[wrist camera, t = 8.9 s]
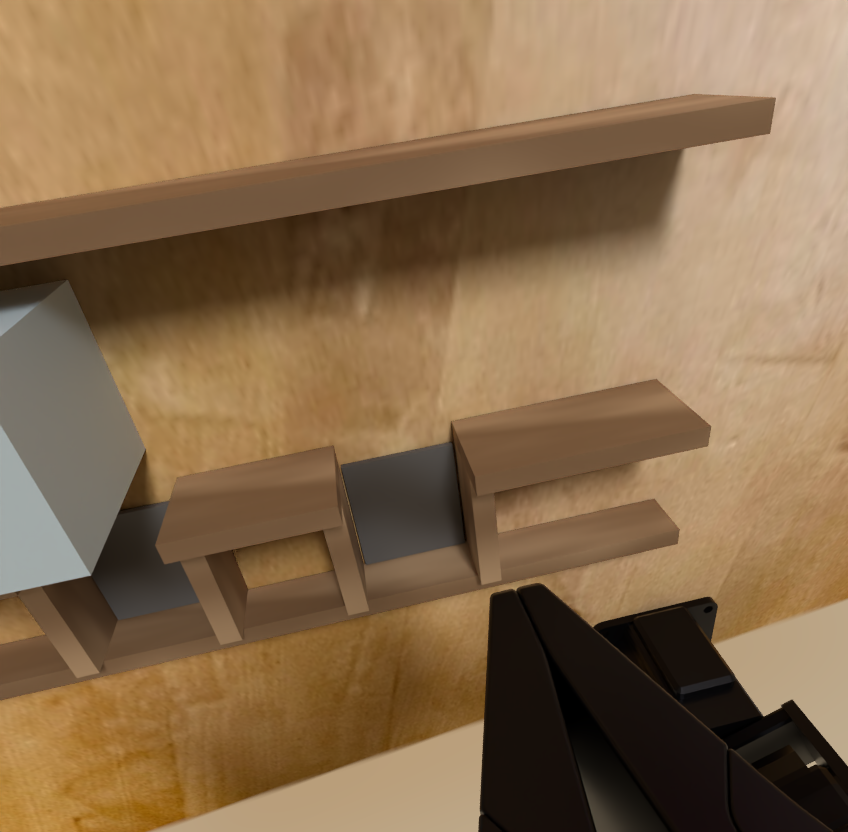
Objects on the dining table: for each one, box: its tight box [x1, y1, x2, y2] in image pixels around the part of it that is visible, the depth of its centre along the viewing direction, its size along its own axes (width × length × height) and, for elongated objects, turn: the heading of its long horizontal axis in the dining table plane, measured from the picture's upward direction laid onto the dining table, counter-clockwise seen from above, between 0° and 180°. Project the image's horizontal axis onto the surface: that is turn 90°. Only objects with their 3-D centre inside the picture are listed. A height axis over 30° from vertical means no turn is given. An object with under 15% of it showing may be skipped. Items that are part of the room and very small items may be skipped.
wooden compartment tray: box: [0, 94, 776, 700], centre depth 19 cm, size 16×33×4 cm, turn 98°
